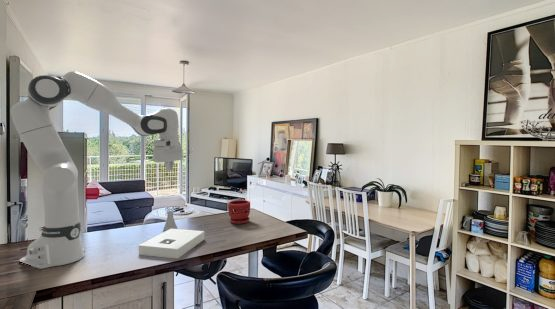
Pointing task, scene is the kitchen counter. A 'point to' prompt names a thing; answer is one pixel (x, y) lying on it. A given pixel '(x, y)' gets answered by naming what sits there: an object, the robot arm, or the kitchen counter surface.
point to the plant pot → (239, 211)
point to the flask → (170, 222)
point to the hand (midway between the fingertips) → (169, 170)
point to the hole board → (177, 248)
